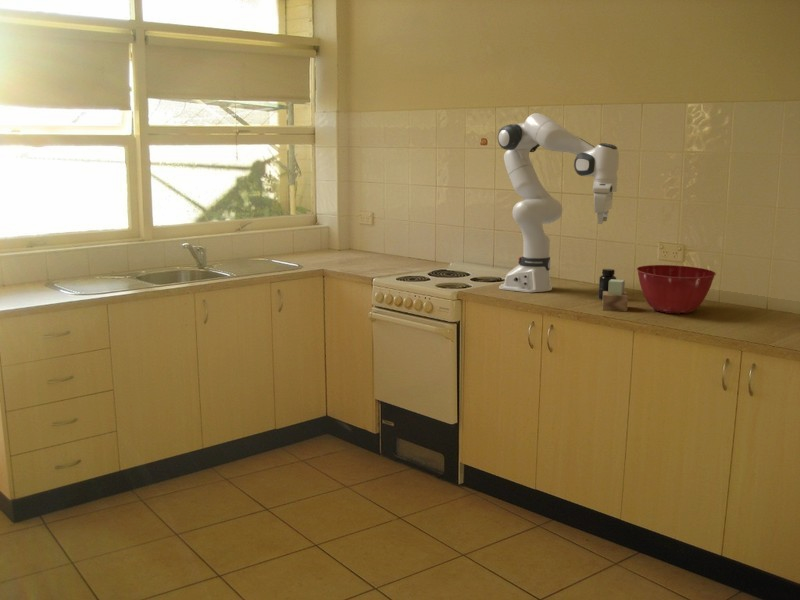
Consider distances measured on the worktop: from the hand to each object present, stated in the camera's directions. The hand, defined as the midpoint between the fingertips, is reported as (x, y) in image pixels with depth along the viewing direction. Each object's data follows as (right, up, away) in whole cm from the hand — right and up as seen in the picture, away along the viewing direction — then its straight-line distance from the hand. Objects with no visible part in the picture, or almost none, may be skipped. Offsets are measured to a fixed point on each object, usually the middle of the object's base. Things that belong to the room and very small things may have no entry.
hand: (602, 222), depth 319 cm
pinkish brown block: (+4, -34, -3) cm, 34 cm away
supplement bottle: (+6, -30, +16) cm, 34 cm away
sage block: (+4, -28, -4) cm, 28 cm away
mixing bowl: (+25, -34, -7) cm, 43 cm away
